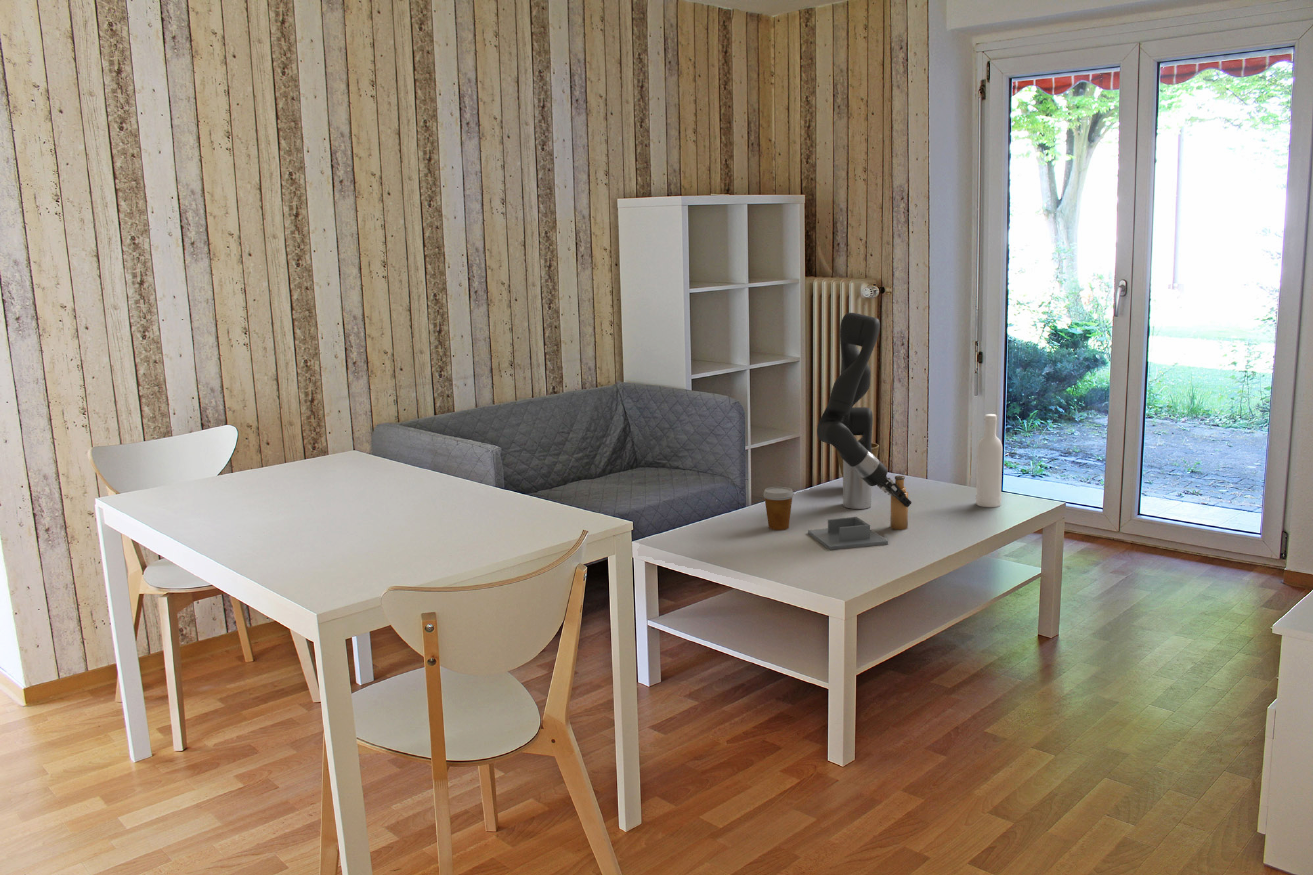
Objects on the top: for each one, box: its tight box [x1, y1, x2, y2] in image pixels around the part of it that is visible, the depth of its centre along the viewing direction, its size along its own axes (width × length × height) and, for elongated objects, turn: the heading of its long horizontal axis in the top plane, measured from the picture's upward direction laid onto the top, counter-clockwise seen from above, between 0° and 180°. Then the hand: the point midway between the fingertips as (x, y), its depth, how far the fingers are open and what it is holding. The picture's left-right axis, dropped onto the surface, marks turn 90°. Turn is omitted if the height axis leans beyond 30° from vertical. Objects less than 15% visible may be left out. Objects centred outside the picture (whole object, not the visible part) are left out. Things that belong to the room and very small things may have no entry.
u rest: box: [807, 516, 889, 551], centre depth 304 cm, size 18×18×5 cm
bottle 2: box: [975, 413, 1004, 508], centre depth 334 cm, size 8×8×30 cm
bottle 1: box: [889, 475, 909, 531], centre depth 313 cm, size 5×5×16 cm
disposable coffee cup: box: [762, 486, 795, 531], centre depth 317 cm, size 10×10×12 cm
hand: (904, 502), depth 313 cm, fingers closed on bottle 1, 5 cm apart
